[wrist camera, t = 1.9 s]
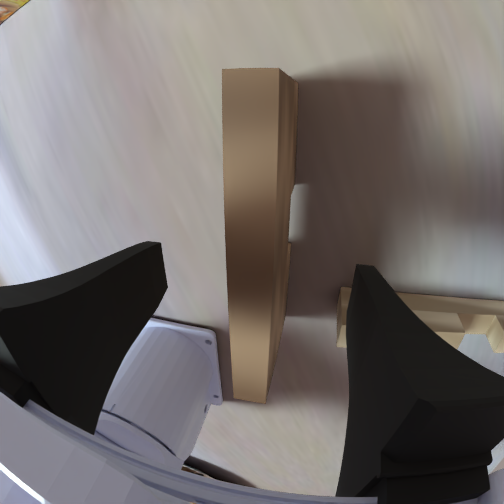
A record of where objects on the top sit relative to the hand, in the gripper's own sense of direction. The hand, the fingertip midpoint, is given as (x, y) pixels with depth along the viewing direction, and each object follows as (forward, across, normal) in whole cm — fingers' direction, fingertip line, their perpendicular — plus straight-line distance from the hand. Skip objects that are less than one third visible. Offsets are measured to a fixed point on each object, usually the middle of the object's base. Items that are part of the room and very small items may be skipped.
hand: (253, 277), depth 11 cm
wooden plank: (+7, 0, 0) cm, 7 cm away
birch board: (+7, -13, +5) cm, 15 cm away
